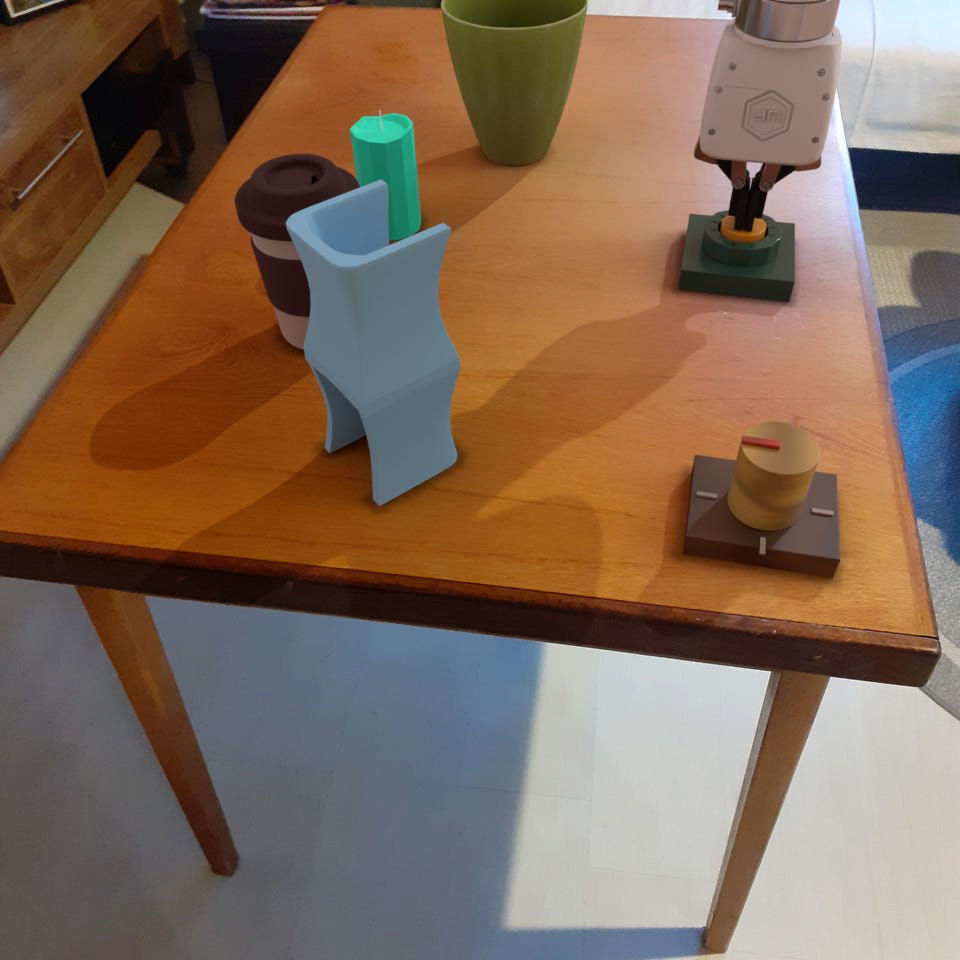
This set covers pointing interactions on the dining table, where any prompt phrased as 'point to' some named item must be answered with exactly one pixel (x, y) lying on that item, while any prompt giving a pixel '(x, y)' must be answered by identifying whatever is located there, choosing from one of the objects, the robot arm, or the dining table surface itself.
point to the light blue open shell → (379, 336)
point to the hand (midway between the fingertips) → (743, 222)
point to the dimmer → (731, 540)
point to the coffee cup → (265, 214)
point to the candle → (390, 167)
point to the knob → (772, 475)
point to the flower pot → (514, 70)
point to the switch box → (738, 260)
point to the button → (743, 230)
